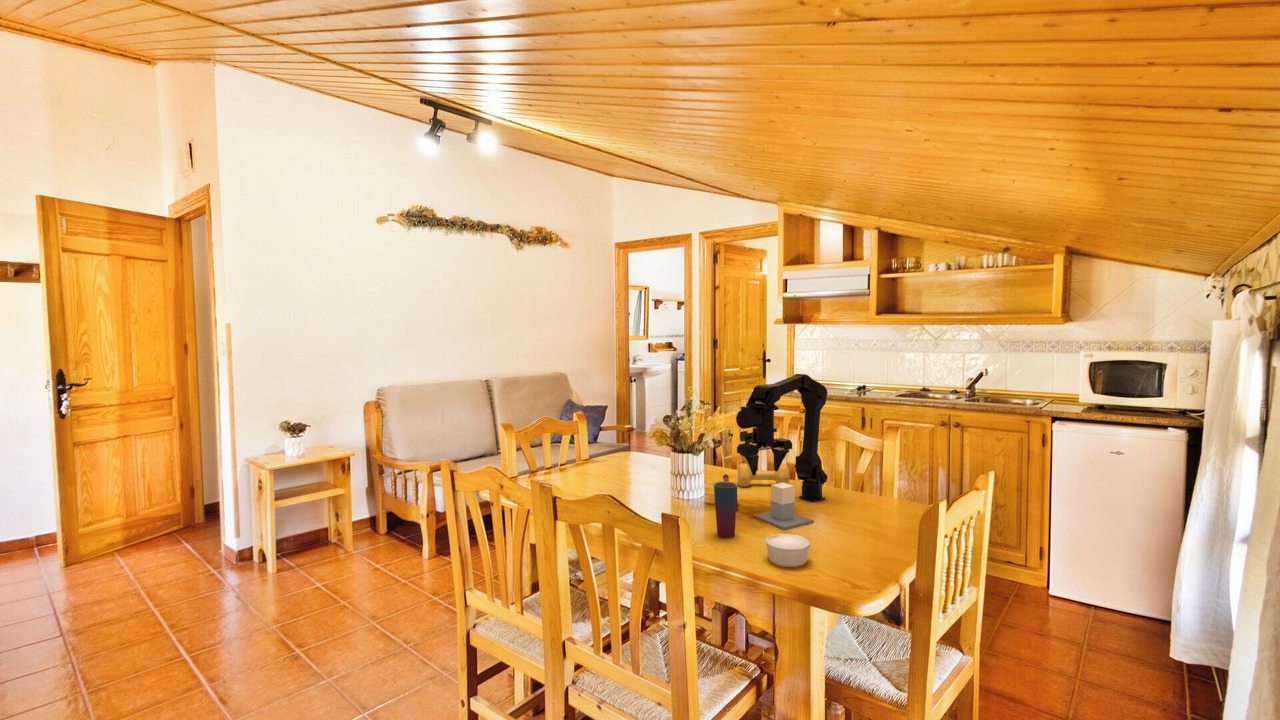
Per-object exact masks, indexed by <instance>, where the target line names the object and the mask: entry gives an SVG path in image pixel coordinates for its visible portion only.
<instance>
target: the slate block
mask: <svg viewBox="0 0 1280 720" xmlns="http://www.w3.org/2000/svg"><path fill="white" fill-rule="evenodd" d="M770 511H771V517H774V518H776V519H779V520H782V521H784V520H788V519H792V518H794V513H795V502H792V503H788V504H783V505H782V504H779V503H776V502H774V501H771V500H770Z"/></svg>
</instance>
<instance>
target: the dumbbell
mask: <svg viewBox="0 0 1280 720" xmlns="http://www.w3.org/2000/svg"><path fill="white" fill-rule="evenodd" d="M736 475H737V477H736V478H737V484H738V485H739V486H740V487H741V488H747V487H749V486H750V485H751V482H752V481H754V480H755V481H775V482H776V483H775V484H778V483H783V482H784V483H787V484H790V469H789V466H788V464H786V463H781V465H780V467H779V469H778V471H777V472H776V471H774V470H757V472H756V475H755V476H754V475H752V472H751V469H750V467H749V464H748V463H745V462H744V463H739V464H738V466H737V474H736Z"/></svg>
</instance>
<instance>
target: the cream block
mask: <svg viewBox="0 0 1280 720" xmlns="http://www.w3.org/2000/svg"><path fill="white" fill-rule="evenodd" d="M795 488H796V487H795V485H793V484H790V483H789V484H787V483H784V482H783V483H778V484H777V483H774V484H771V485H770V497H771V498H770V502H771V501H774V502H776V503H779V504H782V505H783V504H788V503H792V502H794V503H795V501H796V499H795V498H796V497H795V495H796V494H795Z"/></svg>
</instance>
